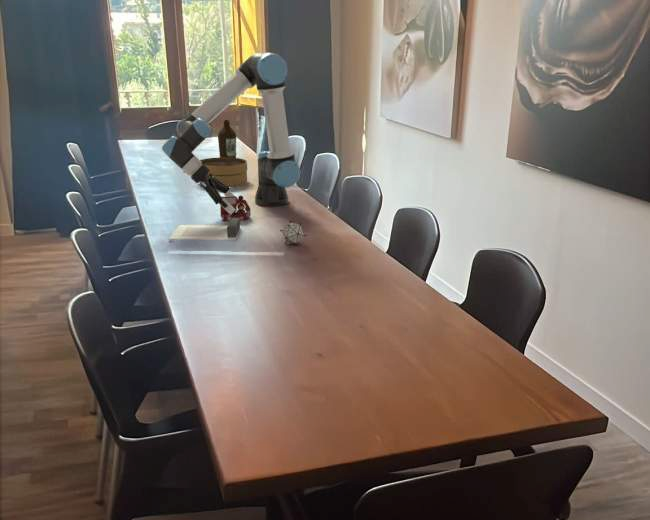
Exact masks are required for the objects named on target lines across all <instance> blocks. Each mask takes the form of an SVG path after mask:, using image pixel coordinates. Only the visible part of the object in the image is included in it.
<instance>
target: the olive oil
mask: <svg viewBox="0 0 650 520" xmlns="http://www.w3.org/2000/svg"><path fill="white" fill-rule="evenodd" d="M230 122H231V121H230V119H228V118H224V119H223V127H221V129H220V130H219V132H218V133H217V139H218V151H219V158H221V157H226V158H237V133H236V131H235V130H234V129H233V128H232V127H231V125H230Z"/></svg>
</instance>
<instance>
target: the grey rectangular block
mask: <svg viewBox="0 0 650 520" xmlns="http://www.w3.org/2000/svg"><path fill="white" fill-rule="evenodd" d="M240 226H241V221H240V218H232V219H231V220H230V221H228V224H227V237H236V236H237V237H238V235H237V233H238V231H239V229H240ZM240 230H241V229H240ZM239 232H240V231H239ZM238 234H239V233H238ZM237 237H236V238H237Z"/></svg>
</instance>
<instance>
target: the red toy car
mask: <svg viewBox="0 0 650 520" xmlns="http://www.w3.org/2000/svg"><path fill="white" fill-rule="evenodd" d="M221 197H222V199H223V198H224V199H225V200H226V201H227V202H228V203H229V204H230V205H231V206H232V207H233V208H234V209H235V211H234V212H233V213H232V214H231V215H230V214H229V213H228V212H227V211H226V210H225V209H224V208H223V207H222V206H221V205H220V204H219V205H220V206H219V207H220V210H219V211H220V219H223V221H224V222H230V220H231V219H232V218H240V222H245V221H247V219H248V218H249V219H250V218H251V213H252V212H251V207H250V205H249V204H248V202H247V200H246V199H244V196H243V195H238V197H237V196H236V195H235V196H228V197H226V196H221ZM237 198H238V199H237Z"/></svg>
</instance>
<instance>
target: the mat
mask: <svg viewBox="0 0 650 520" xmlns="http://www.w3.org/2000/svg"><path fill="white" fill-rule="evenodd" d="M227 226H228V224H227V225H226V224H225V225H222V224H221V225H219V224H218V225H216V224H214V225H213V224H179V226H177V228H176V230H174V232H173V233H172V235H171V236H170V237H169V238H168V242H169V241H171V242H173V243H174V241H175V240H200V241H201V240H204V241H205V240H206V241H207V240H210V241H236V239H237V237H238V235H239V233H240V231H241V229H242V225H240V229H239V231H238V233H237V236H236V237H227ZM171 242H170V243H171Z"/></svg>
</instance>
